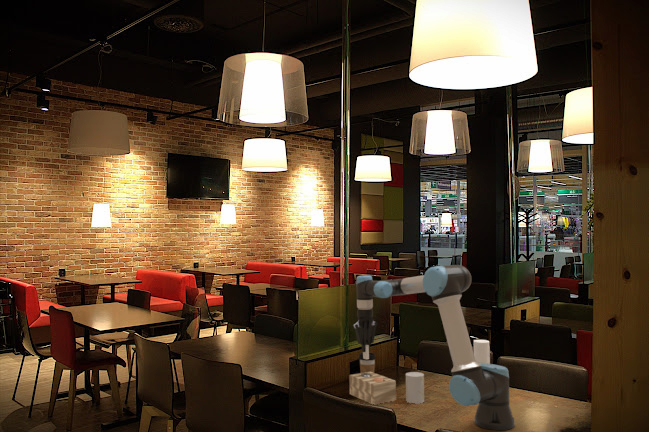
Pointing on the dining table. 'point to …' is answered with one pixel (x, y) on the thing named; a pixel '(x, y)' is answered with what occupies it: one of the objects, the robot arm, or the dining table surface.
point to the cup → (415, 387)
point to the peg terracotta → (378, 379)
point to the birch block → (372, 388)
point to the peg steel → (365, 375)
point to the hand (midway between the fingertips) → (366, 358)
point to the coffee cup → (367, 363)
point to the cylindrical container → (482, 351)
